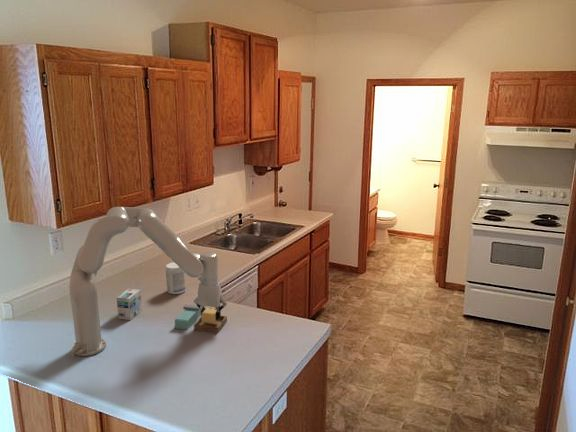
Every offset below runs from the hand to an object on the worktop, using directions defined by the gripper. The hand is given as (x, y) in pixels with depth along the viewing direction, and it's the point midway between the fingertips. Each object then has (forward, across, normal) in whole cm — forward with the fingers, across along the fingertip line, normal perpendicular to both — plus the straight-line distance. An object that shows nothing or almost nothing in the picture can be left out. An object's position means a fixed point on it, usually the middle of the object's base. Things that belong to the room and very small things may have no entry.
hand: (210, 317), depth 207 cm
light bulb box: (+4, -40, +1) cm, 41 cm away
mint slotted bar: (+4, -12, +2) cm, 12 cm away
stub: (+1, 0, 0) cm, 1 cm away
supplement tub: (+4, -32, +31) cm, 44 cm away
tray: (+4, 0, 0) cm, 4 cm away
